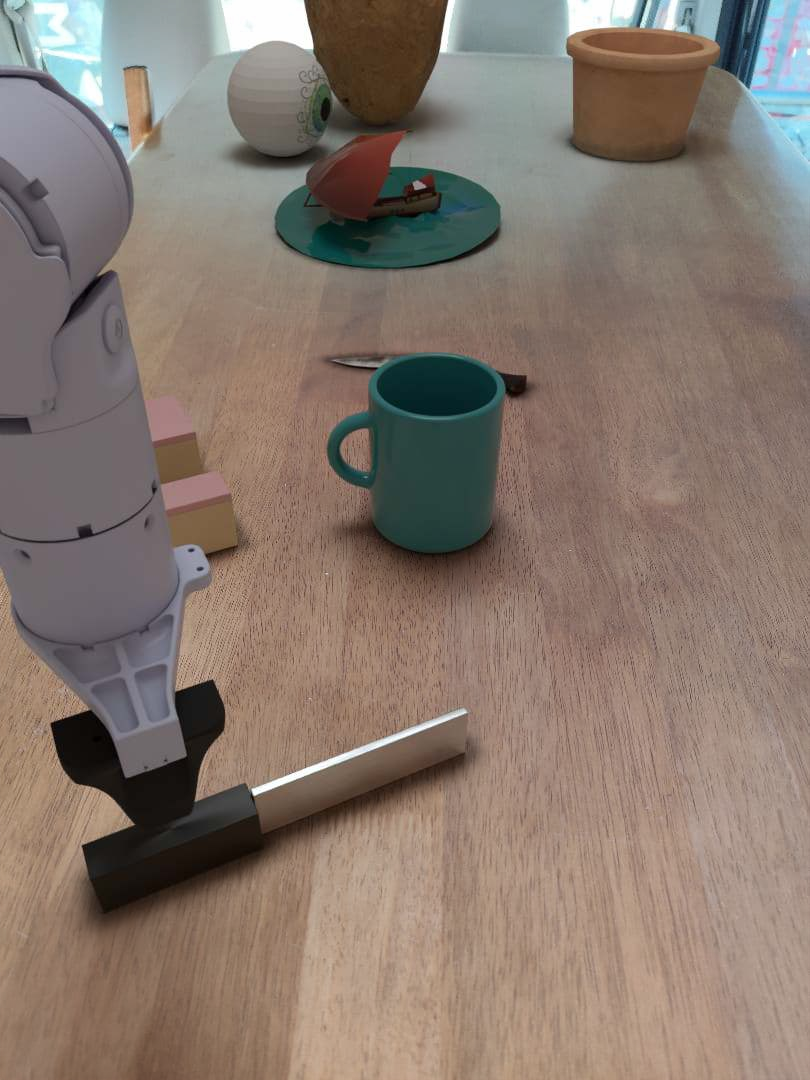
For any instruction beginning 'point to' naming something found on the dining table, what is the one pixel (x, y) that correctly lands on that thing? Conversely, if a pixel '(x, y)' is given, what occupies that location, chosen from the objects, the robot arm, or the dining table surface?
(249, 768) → the dining table surface
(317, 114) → the decorative object
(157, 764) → the robot arm
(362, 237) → the sailing ship model
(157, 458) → the cake
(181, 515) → the cake slice
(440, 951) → the dining table surface
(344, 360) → the knife
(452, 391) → the cup
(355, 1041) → the dining table surface
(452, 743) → the cake knife
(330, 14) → the brown rounded tapered piece
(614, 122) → the pottery
